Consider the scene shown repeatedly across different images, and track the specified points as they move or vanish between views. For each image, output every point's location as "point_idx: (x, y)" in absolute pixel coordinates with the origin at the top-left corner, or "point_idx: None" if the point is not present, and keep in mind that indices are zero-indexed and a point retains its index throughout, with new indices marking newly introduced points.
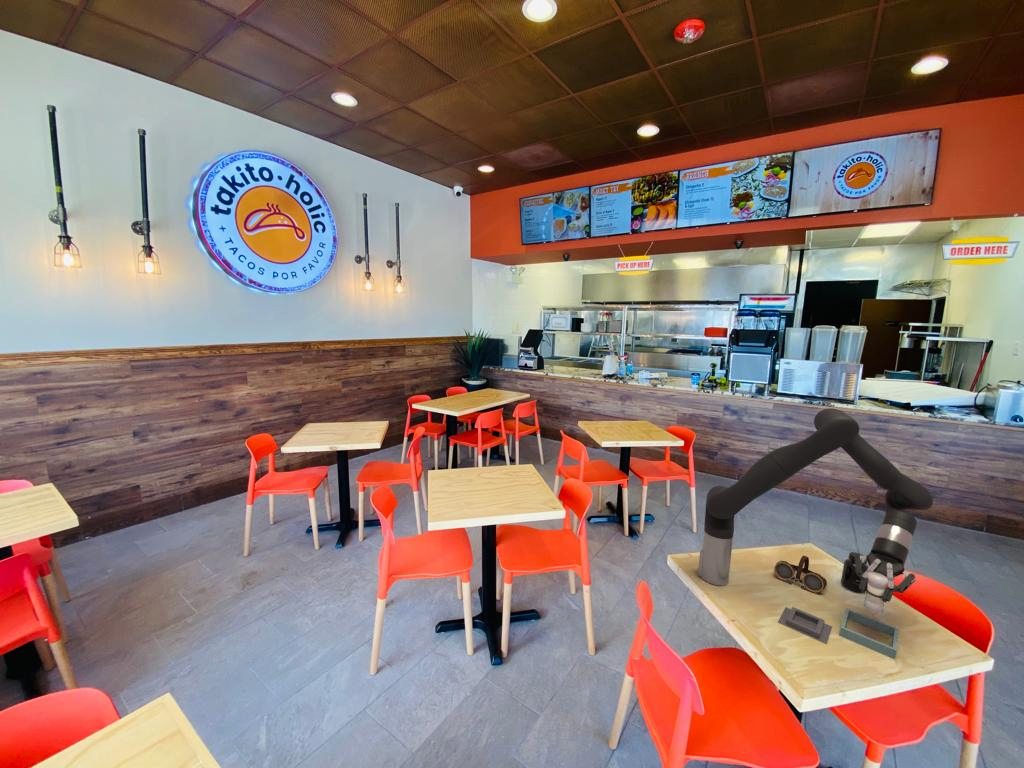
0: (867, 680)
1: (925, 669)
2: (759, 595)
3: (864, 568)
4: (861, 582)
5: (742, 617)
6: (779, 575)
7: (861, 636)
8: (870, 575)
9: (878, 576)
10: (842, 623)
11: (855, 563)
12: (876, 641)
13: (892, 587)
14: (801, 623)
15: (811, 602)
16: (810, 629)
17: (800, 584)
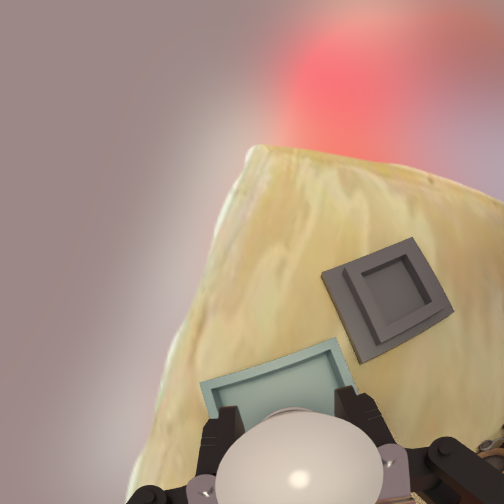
0: (221, 258)
1: (162, 424)
2: (495, 301)
3: None
4: (378, 421)
5: (437, 200)
6: None
7: (283, 357)
8: (349, 431)
9: (297, 489)
10: (344, 364)
11: (496, 470)
12: (247, 374)
13: (194, 485)
14: (398, 288)
15: (448, 421)
16: (366, 262)
17: (495, 440)
